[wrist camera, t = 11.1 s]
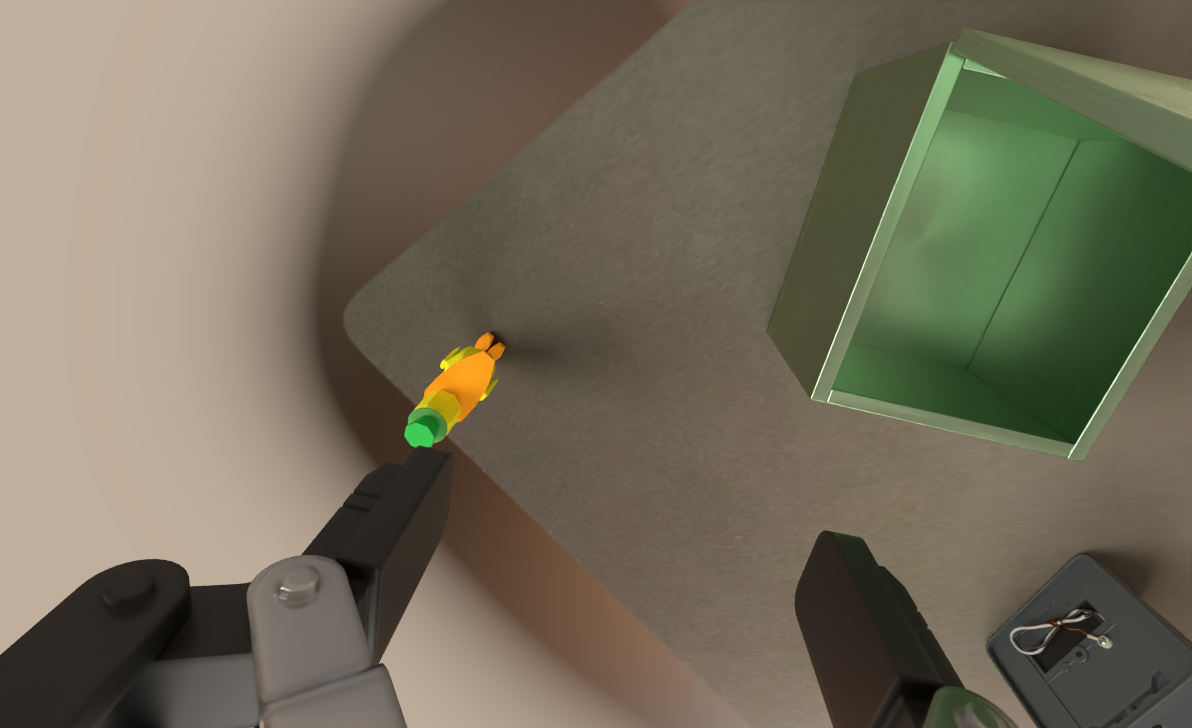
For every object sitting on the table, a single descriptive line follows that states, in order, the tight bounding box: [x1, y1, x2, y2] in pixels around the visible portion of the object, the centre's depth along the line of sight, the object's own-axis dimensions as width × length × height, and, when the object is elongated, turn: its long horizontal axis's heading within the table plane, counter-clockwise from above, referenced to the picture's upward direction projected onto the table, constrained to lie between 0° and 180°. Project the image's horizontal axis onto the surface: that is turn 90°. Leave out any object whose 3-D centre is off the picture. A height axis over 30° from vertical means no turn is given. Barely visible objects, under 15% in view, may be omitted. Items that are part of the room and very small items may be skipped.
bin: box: [767, 42, 1192, 462], centre depth 30 cm, size 16×14×11 cm
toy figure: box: [404, 332, 505, 447], centre depth 34 cm, size 7×4×12 cm, turn 138°
